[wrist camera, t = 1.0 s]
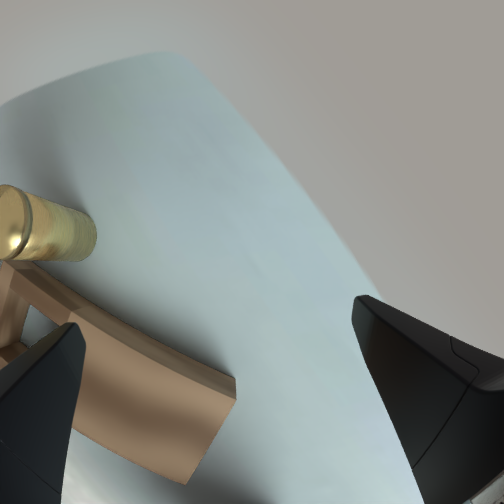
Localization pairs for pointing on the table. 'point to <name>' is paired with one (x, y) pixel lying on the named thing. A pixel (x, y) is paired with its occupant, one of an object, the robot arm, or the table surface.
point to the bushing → (42, 229)
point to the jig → (123, 378)
